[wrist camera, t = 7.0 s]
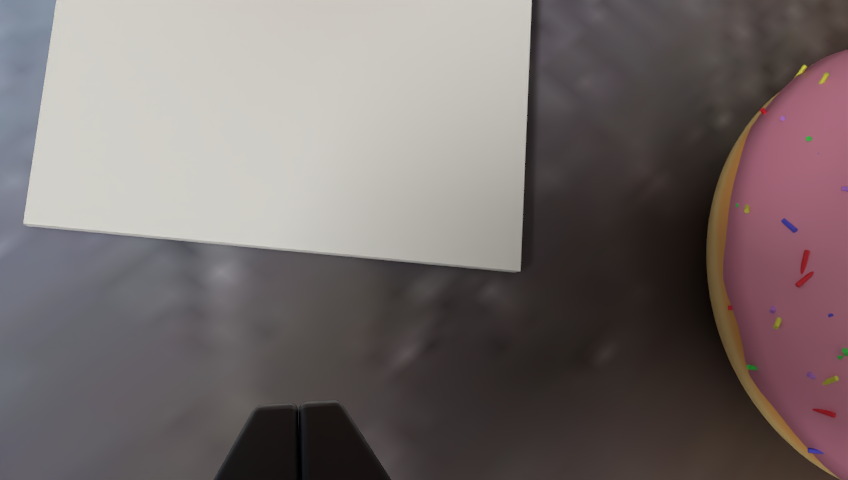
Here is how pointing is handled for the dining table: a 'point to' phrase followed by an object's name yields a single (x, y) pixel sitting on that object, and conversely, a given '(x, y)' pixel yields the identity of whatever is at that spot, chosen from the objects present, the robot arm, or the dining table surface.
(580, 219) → the dining table surface
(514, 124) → the white paper sheet
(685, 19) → the dining table surface
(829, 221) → the doughnut
